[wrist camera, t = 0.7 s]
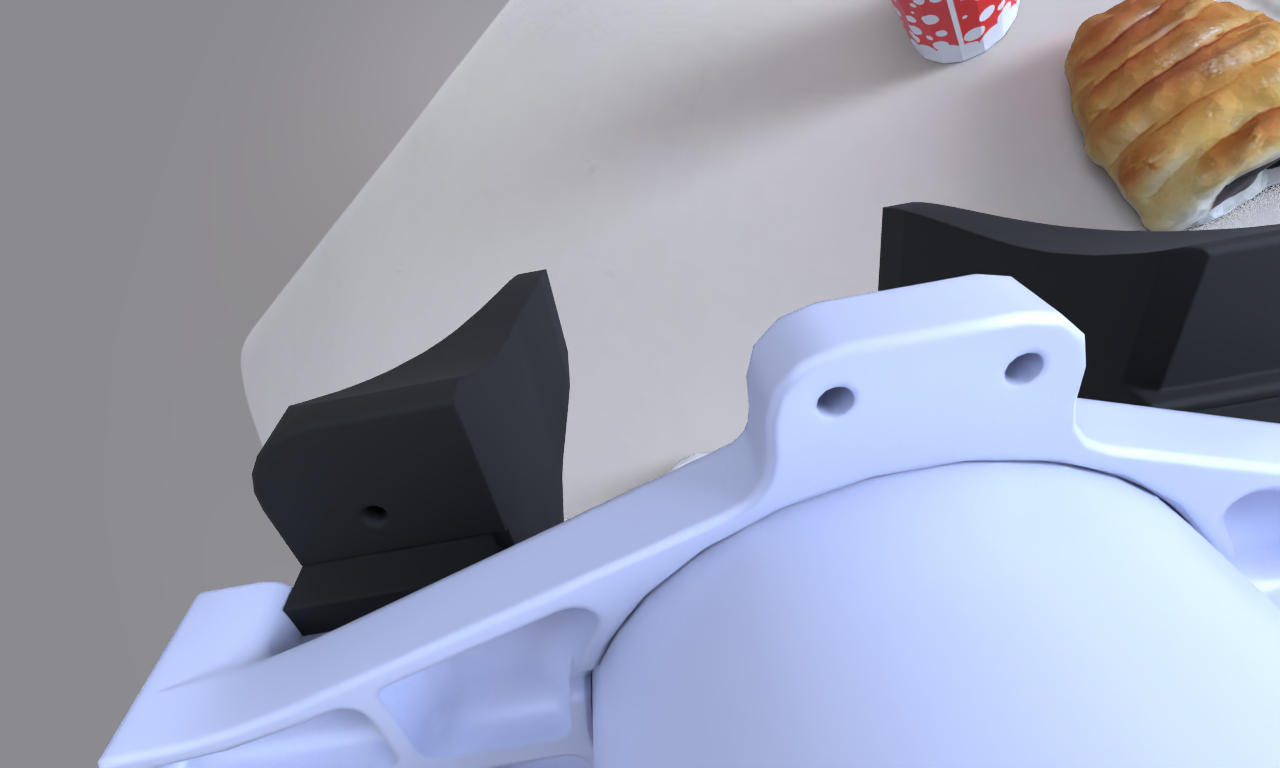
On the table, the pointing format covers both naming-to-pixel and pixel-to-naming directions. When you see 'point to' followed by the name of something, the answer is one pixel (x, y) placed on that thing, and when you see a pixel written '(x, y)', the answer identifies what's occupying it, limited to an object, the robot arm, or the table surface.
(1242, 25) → the pastry
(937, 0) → the beverage cup
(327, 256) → the table surface
